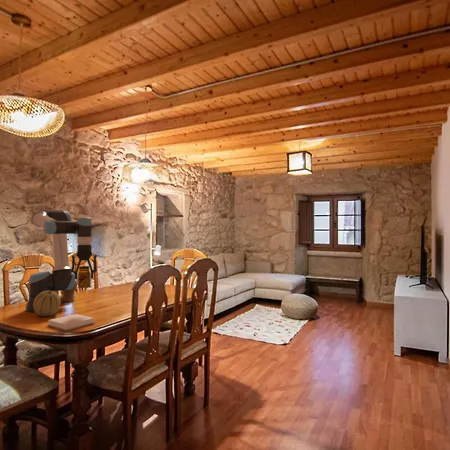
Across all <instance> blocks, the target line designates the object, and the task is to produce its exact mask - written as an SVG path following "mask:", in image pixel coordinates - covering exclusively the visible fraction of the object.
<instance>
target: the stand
mask: <svg viewBox="0 0 450 450" xmlns="http://www.w3.org/2000/svg"><path fill="white" fill-rule="evenodd" d="M94 324H95V318H94V317H92V316H91V317H90V316H88V315H87V316H86V315H82V314H77V313H75V314H70V315H66V316H61V317H56V318H52V319H48V324H47V327H51V328H54V329H58V330H60V331H65V332H67V331H72V330H75V329H80V328H83V327H86V326H90V325H94Z"/></svg>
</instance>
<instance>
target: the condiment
mask: <svg viewBox="0 0 450 450" xmlns="http://www.w3.org/2000/svg"><path fill="white" fill-rule="evenodd" d="M77 273H79V285H77V289H87V288H92V284H91V285H90V273H91V270H90V267H89V265H83V266H82V265H80V266H79V269H78V272H77Z"/></svg>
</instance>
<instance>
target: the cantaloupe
mask: <svg viewBox="0 0 450 450" xmlns="http://www.w3.org/2000/svg"><path fill="white" fill-rule="evenodd" d="M60 297H61V296H60V295H59V294H58V293H57V292H56V291H43V292H41V293H39V294H38V295H37V296H36V297H35V299H34V302H33V308H34V311H35V312H34V313H36V314H37V315H38V316H41V317H49V316H52V315H55V314H56V313H57V312H58V311H59V310H60V307H61V303H62V302H61V300H60Z"/></svg>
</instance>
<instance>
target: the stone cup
mask: <svg viewBox="0 0 450 450" xmlns="http://www.w3.org/2000/svg"><path fill="white" fill-rule="evenodd" d="M77 288H78V285H77V280H75V284H74V287H73V288H72V289H69V290H62V295H61V296H59V297H60V300H61V303H64V302H65V303H68V302H69V303H70V302H73V301H74V300H75V298H76V296H74V295H75V293H76V290H77Z"/></svg>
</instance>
